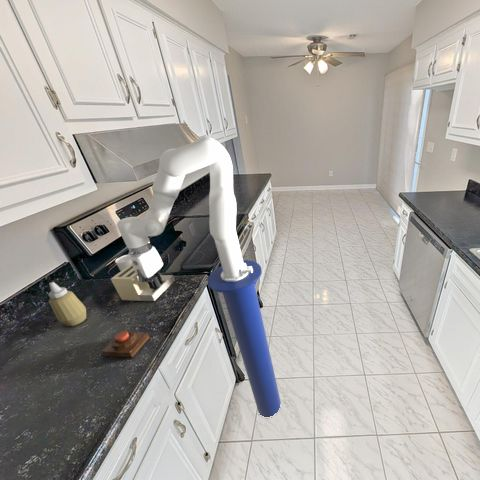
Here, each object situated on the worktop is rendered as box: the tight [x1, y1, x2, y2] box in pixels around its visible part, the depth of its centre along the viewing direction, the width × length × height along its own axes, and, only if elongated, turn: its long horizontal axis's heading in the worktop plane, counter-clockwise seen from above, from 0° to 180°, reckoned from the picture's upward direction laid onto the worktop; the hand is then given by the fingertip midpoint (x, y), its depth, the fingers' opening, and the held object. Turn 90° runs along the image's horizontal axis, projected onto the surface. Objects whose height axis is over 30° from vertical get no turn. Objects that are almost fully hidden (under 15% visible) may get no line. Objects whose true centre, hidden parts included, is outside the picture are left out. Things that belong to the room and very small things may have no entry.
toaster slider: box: [152, 275, 161, 288], centre depth 106 cm, size 3×3×5 cm
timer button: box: [113, 330, 130, 343], centre depth 82 cm, size 4×4×2 cm
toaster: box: [110, 264, 176, 302], centre depth 109 cm, size 15×14×11 cm
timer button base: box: [100, 329, 151, 358], centre depth 83 cm, size 10×8×4 cm
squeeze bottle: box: [47, 281, 87, 327], centre depth 92 cm, size 8×8×18 cm
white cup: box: [114, 254, 132, 272], centre depth 120 cm, size 8×8×10 cm
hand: (157, 285), depth 107 cm, fingers closed on toaster slider, 2 cm apart
